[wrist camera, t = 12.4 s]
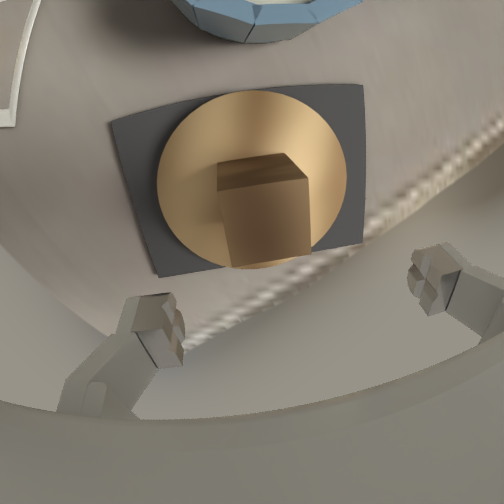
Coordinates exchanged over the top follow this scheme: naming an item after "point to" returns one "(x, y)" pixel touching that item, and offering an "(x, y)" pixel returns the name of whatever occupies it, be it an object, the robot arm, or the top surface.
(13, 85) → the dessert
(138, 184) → the mat
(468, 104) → the top surface
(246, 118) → the lid
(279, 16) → the bowl
